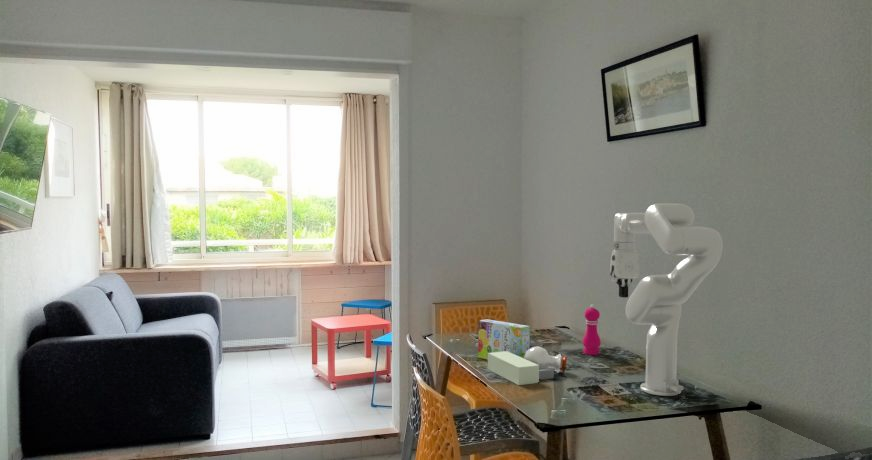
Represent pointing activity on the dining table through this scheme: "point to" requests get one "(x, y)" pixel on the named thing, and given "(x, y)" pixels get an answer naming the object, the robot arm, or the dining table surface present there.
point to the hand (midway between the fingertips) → (623, 296)
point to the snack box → (502, 338)
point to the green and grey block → (517, 368)
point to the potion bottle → (545, 359)
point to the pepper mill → (591, 332)
